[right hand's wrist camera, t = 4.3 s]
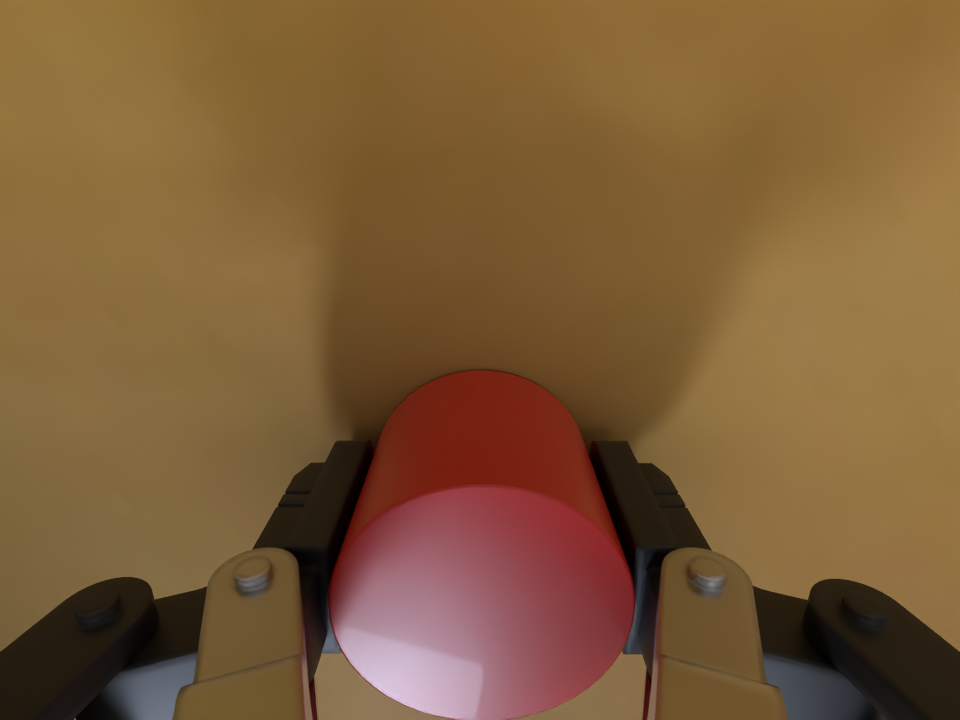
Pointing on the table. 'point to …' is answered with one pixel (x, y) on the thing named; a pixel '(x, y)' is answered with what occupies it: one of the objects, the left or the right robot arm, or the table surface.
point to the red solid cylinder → (481, 556)
